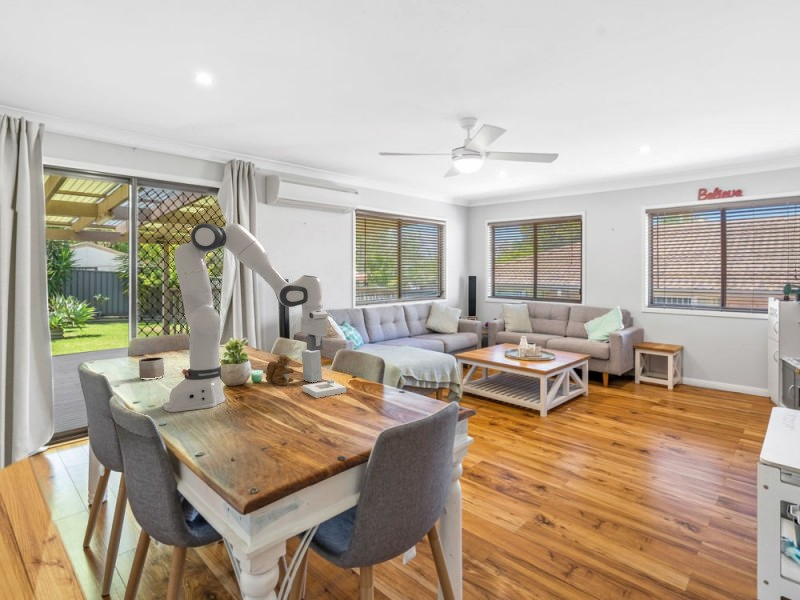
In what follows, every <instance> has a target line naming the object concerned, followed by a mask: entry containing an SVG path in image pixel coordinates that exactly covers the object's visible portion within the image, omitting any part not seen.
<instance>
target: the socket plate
mask: <svg viewBox="0 0 800 600" xmlns="http://www.w3.org/2000/svg"><path fill="white" fill-rule="evenodd" d="M302 392H304V393H306V394H307V393H308V394H307V395H309V394H310V396H312V397H313V398H315V399H320V397H321V398H326V397H331V396H336V395H335V394H337V395H340V394H341V393H342V394H346V393H347V387H346V386H344V385H342V384H340V383H338V382H336V381H335V380H333V379H327V380H326V381H323V382H322V381H320V382H314V383H310V384H304V385H302ZM342 394H341V395H342ZM330 395H331V396H330ZM325 396H326V397H325Z"/></svg>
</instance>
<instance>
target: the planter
mask: <svg viewBox="0 0 800 600" xmlns="http://www.w3.org/2000/svg"><path fill="white" fill-rule="evenodd" d="M164 365H165V363H164V357H157V356H156V357H154V356H153V357H146V358H141V359H139V360H138V371H139V372H138V373H139V374H138V376H139V379H140V378H155V377H160V376H163V375H164V376H165V366H164Z"/></svg>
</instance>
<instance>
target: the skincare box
mask: <svg viewBox="0 0 800 600" xmlns="http://www.w3.org/2000/svg"><path fill="white" fill-rule="evenodd" d="M301 360H302V362H301V363H302V375H303V377H302V378H303V381H304V380H305V381H304V382H309V383H311V382H312V383H311V384H314V383H318V382H317V381H320V382H322V381H323V374H322V357H321V350H317V351H310V350H307V349H305V350H301ZM321 380H322V381H321ZM313 382H314V383H313Z"/></svg>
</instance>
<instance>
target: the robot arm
mask: <svg viewBox="0 0 800 600" xmlns="http://www.w3.org/2000/svg"><path fill="white" fill-rule="evenodd" d="M219 248H225V249H227V250H228V251H229V252H230V253H231V254H232V255H233V256H234V257H235V258H236V259H237V260H238V261H239V262H240V263H241V264H242V265H244V266H245V267H246V268H248V269H249V270H251V271H253V272H254V273H256V274H258V275H259V276H260V277H261V278H262V279H264V281H265V282H266V283H267V284H268V285H269V287H271V289H272V290H273V291H274V293H275V296H276V299H277V301H278V303H280V304H281V305H282V306H285V307H287V308H294V307H297V306H301V315H302V316H301V317H300V332H301V333H303V334H306V336H310V335H315V338H316V342H315V345H316V346H320V341H321V337H322V338H323V337H327V336H328V335H329V334H328V333H329V329H328V328H329V326H328V325H329V324H328V319H327V318H329V313H328V312H327V311H326V310H325V309H324V307H323V301H322V297H323V289H322V284H321V280H320V279H319V278H318V277H317V276H313V275H306V274H305V275H302V276H300V277H299V278H298V279H296V280H295V281H293V282H288V281H287V280H286V279H284V278H283V277H282V275H280V273H279V272H278V271H277V270H276V268H274V267H273V264H271V261H270V259H269V255H268V252H267V251H266V249H265V248H264V246H263V245H262V243H261V242H260V241H259V240H258V239H257V237H255V235H254V234H252V233H251V232H250V231H249V230H248V229H246V228H245V227H244V226H243V225H241V224H239V223H236V222H235V223H231V224H229V225H227V226H225V227H221V226H217V225H215V224H212V223H208V222H203V223H199V224H197V225H194V227H193V228H192V231H191V233H190V242H187V243H183V244H181V245H179V246H177V247H176V249H175V250H174V264H175V271H176V276H177V280H178V285H179V288H180V293H181V297H182V304H183V308H184V309H183V310H184V315H185V319H186V324H187V326H188V327H189V347H188V350H189V368H188V369H186V368H184V369H182V370H181V374H182V375H184V379H183V380H182V381H180V382H179V383H178V384H177V385H175V386H174V387H173V388H172V389H171V391H170V394H169V400H168V401H165V402H164V403H163V406H162V408H163V410H164V411H166V412H168V413H169V412H170V413H177V412H183V411H193V410H200V409H207V408H208V409H209V408H214V407H216V406H217V405H219V404H222V403H224V402H225V401H226V397H225V394H224V391H223V386H222V378H223V377H222V376H223V374H222V366H221V363H220V362H221V360H220V359H221V358H220V340H221V315H220V314H219V312H218V311H217V310H216V309H215V305H214V299H213V292H212V285H211V280H210V275H209V270H208V267H207V262H206V256H207V255H208V254H210V253H212V252H215V251H216V250H218V249H219Z"/></svg>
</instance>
